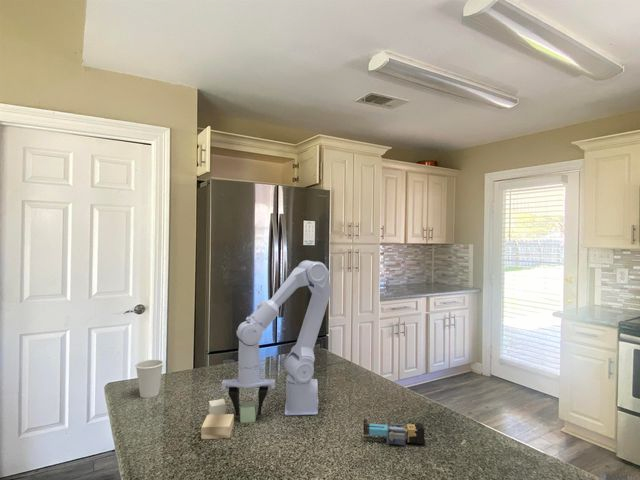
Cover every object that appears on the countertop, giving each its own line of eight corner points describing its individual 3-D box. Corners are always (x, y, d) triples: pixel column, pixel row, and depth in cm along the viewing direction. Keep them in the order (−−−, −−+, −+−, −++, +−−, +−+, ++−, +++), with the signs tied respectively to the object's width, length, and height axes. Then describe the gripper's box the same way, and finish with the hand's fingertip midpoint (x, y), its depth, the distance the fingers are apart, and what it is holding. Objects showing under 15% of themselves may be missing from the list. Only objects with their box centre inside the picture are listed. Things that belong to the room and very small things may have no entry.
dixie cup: (164, 388, 130) (164, 358, 130) (162, 397, 122) (162, 366, 122) (137, 390, 127) (137, 360, 127) (133, 401, 119) (133, 368, 119)
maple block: (233, 425, 104) (233, 413, 104) (229, 438, 97) (229, 426, 97) (207, 425, 103) (207, 414, 103) (201, 439, 96) (201, 427, 96)
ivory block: (223, 412, 112) (223, 398, 112) (225, 418, 108) (225, 404, 108) (209, 415, 110) (209, 401, 110) (211, 421, 106) (211, 406, 106)
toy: (363, 416, 100) (423, 420, 98) (363, 433, 100) (423, 438, 98) (363, 426, 94) (426, 431, 92) (363, 445, 94) (426, 450, 92)
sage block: (256, 415, 110) (256, 401, 110) (255, 422, 106) (255, 407, 106) (242, 416, 109) (242, 402, 109) (240, 422, 105) (240, 408, 105)
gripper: (275, 360, 112) (275, 406, 112) (225, 361, 111) (224, 408, 111) (274, 368, 105) (274, 418, 105) (220, 369, 104) (220, 419, 104)
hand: (248, 413), depth 108 cm, fingers open, 5 cm apart
